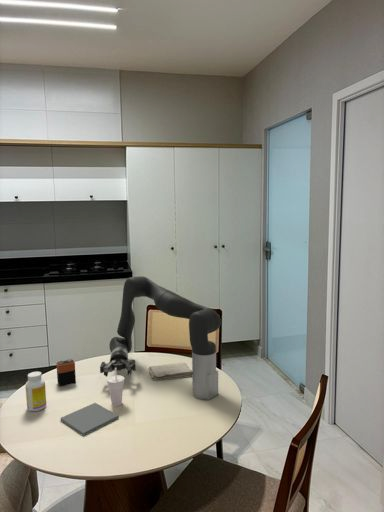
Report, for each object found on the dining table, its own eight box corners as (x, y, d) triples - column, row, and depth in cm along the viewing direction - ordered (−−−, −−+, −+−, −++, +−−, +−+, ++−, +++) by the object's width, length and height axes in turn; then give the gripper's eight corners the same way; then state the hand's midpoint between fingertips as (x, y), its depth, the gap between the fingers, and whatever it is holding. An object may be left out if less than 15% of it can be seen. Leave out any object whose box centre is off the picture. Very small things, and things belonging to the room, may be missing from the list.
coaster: (118, 418, 137) (118, 415, 136) (83, 435, 126) (83, 433, 126) (95, 405, 146) (95, 402, 146) (60, 420, 136) (60, 417, 135)
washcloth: (147, 371, 176) (147, 365, 176) (185, 366, 181) (185, 360, 181) (152, 382, 165) (152, 375, 165) (193, 377, 170) (193, 370, 170)
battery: (76, 383, 164) (74, 360, 163) (59, 387, 161) (57, 363, 160) (74, 379, 168) (72, 356, 167) (57, 382, 165) (56, 359, 164)
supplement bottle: (50, 404, 147) (48, 371, 145) (38, 413, 141) (35, 379, 139) (35, 401, 149) (33, 369, 147) (23, 410, 143) (20, 376, 141)
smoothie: (110, 409, 143) (109, 372, 141) (105, 401, 148) (104, 366, 147) (127, 405, 146) (126, 368, 144) (122, 397, 151) (121, 362, 150)
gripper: (102, 350, 170) (98, 365, 154) (135, 348, 172) (135, 363, 156) (102, 367, 171) (99, 384, 155) (136, 365, 173) (135, 381, 157)
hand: (117, 373), depth 155 cm, fingers open, 8 cm apart
